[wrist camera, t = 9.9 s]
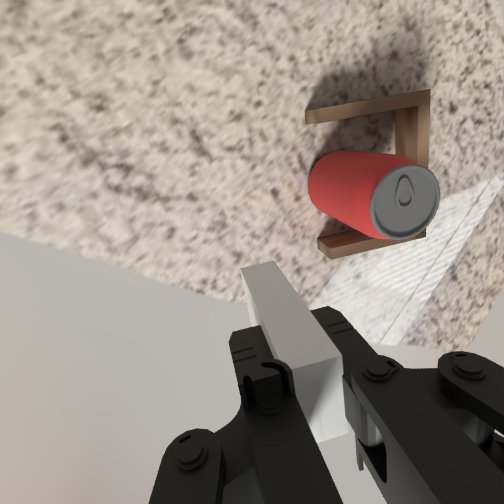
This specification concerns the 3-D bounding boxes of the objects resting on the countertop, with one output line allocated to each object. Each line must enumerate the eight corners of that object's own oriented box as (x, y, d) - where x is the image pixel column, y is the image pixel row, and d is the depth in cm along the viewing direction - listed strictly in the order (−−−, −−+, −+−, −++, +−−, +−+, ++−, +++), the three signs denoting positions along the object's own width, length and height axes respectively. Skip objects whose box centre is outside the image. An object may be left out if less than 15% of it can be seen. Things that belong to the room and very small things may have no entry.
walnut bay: (304, 111, 32) (318, 108, 29) (406, 93, 33) (430, 88, 30) (317, 248, 37) (330, 259, 34) (405, 228, 38) (425, 237, 35)
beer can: (359, 142, 34) (446, 145, 23) (367, 203, 36) (448, 232, 25) (300, 159, 33) (359, 170, 22) (311, 220, 36) (370, 258, 25)
